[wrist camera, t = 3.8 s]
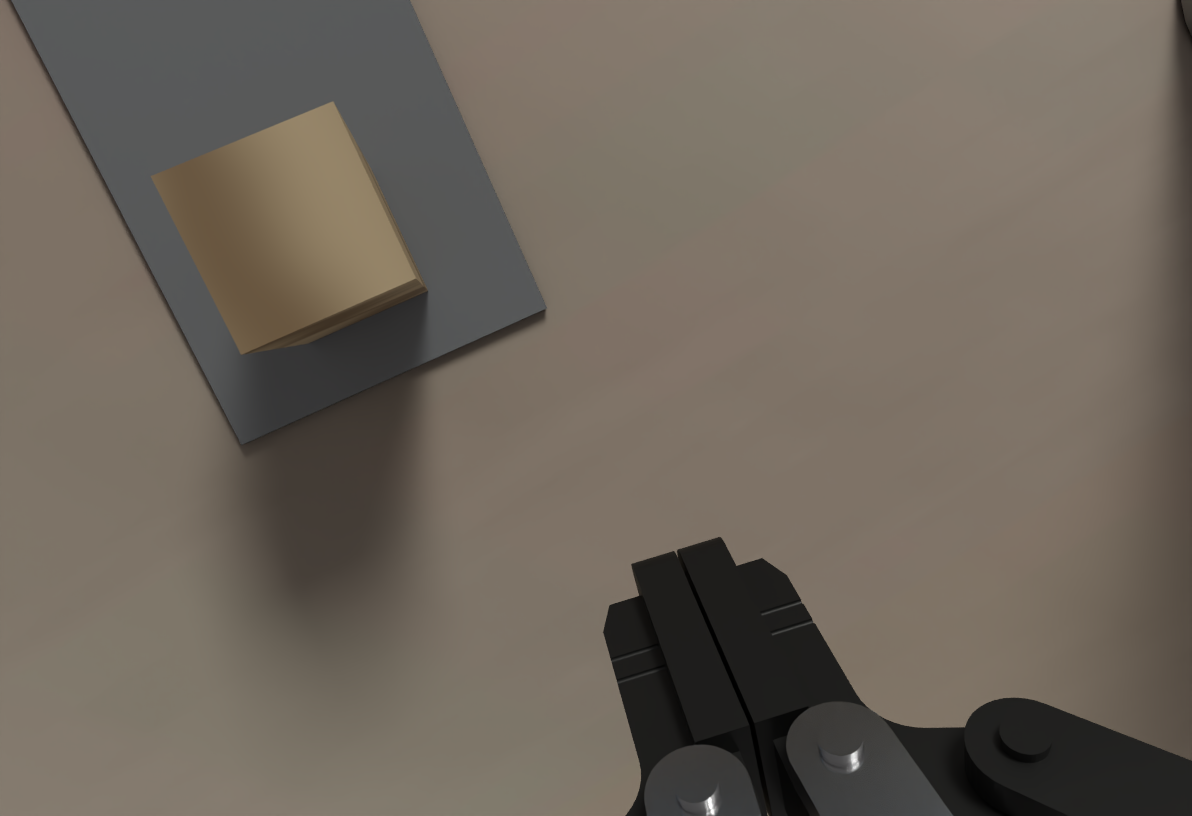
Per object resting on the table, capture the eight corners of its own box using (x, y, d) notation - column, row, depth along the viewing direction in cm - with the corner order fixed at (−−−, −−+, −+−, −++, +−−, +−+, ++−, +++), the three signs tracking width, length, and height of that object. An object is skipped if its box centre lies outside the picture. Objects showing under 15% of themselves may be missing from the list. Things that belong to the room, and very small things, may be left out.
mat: (300, -244, 32) (298, -251, 32) (545, 308, 36) (546, 308, 35) (-46, -116, 31) (-52, -122, 31) (243, 443, 34) (241, 445, 34)
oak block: (372, 170, 34) (332, 101, 23) (428, 291, 35) (415, 278, 24) (249, 222, 33) (150, 176, 23) (308, 343, 34) (241, 354, 23)
